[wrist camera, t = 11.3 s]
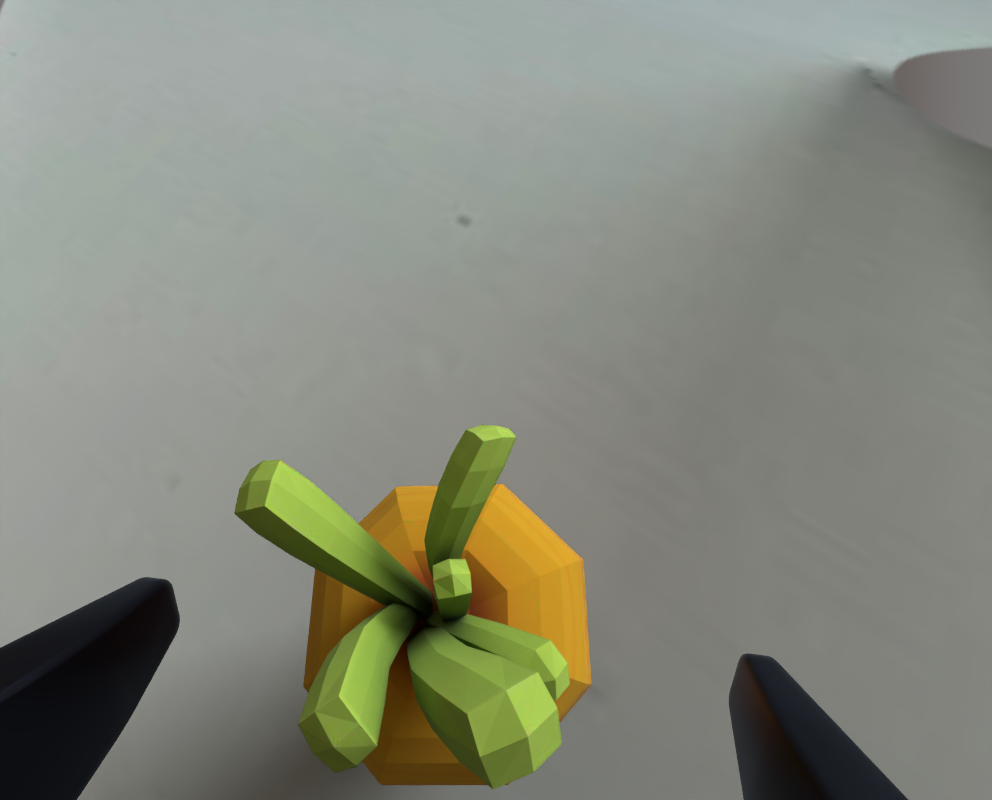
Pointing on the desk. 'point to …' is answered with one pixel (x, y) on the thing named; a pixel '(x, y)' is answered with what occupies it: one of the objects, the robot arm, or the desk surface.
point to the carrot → (432, 621)
